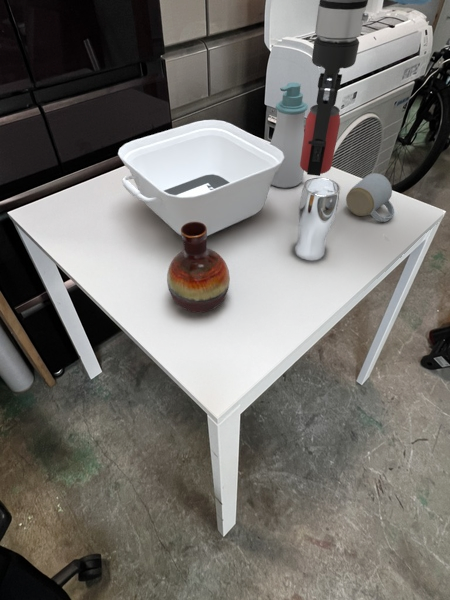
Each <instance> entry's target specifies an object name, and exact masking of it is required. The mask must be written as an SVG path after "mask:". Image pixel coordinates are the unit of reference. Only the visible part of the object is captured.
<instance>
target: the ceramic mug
mask: <svg viewBox="0 0 450 600" xmlns="http://www.w3.org/2000/svg"><path fill="white" fill-rule="evenodd" d="M392 187H393V186H392V184H391V182H390V180H389V179H388V178H387V177H386V176H384V175H383V174H381V173H376V172H373V173H369V174H367V175H365V176H364V178H362V179H361V180H359V182H358V183H356V184H355V185H354V186H353V187H352V188H351V189H350V190H349V191H348V192H347V195H346V198H345V203H346V206H347V208H348V210H349V211H350V212H351V213H352V214H354V215H356V216H359V217H366V216H368V215H370V216H371V217H372V218H373V219H375V220H376V221H378V222H380V223H385V222H388V221H389V220H391V219H392V218H393V217H394V215H395V208H394V205H393V204H392V202H391V201H390V199H391V197H392V195H393V188H392ZM382 206H384V207H386V210H387V211H388V214H389V216H382V215H381V214H379V213H378V212H377V210H378V209H379V208H381V207H382Z"/></svg>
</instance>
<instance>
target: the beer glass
mask: <svg viewBox="0 0 450 600" xmlns="http://www.w3.org/2000/svg"><path fill="white" fill-rule="evenodd" d="M340 191H341V186H340V184H339V183H338V182H337V181H335V180H333V179H330V178H328V177H313V178H309V179H307V180H306V181H304V183H303V187H302V191H301V195H300V200H299V206H298V232H299V233H298V239H297V242H296V244H295V248H294V252H295V254H296V256H297V257H299V258H300V259H302V260H306V261H317V260H320V259H322V257H324V255H325V252H326V251H325V249H326V247H325V246H326V245H325V244H326V239H327V236H328V233H329V232H330V229H331V226H332V224H333V223H334V220H335V217H336V214H337V210H338V206H339V200H340Z"/></svg>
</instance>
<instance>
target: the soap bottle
mask: <svg viewBox="0 0 450 600" xmlns="http://www.w3.org/2000/svg"><path fill="white" fill-rule="evenodd" d="M301 87H302V86H301V83H299V82H289V83H287V84H286V85H285V86H282V87H280V88H279V89H280V91H281V92H283V94H282V100H281V101H279V102H276V104H275V109H276V119H275V127H274V129H273V134H272V137H271V139H270V140H271V141H270V143H269V144H271V145H273V146H275V147H276V148H278V149H279V150H280V151H282V152H283V155H284V160H283V162H282V163H281V165H280V167H279V169H278V171H277V172H275V174H274V177H273V180H272V183H271V186H274V187H277V188H284V189H287V188H294V187H296V186H298V185H300V184H301V183H302V181H303V178H304V173H305V171H304V170H303V169H302V168H301V167H300V161H301V153H302V146H303V139H304V131H305V116H306V111H307V110H308V108H309V105H308V103H306V102H304V101H303V98H304V95H303V93H302V92H301Z"/></svg>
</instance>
